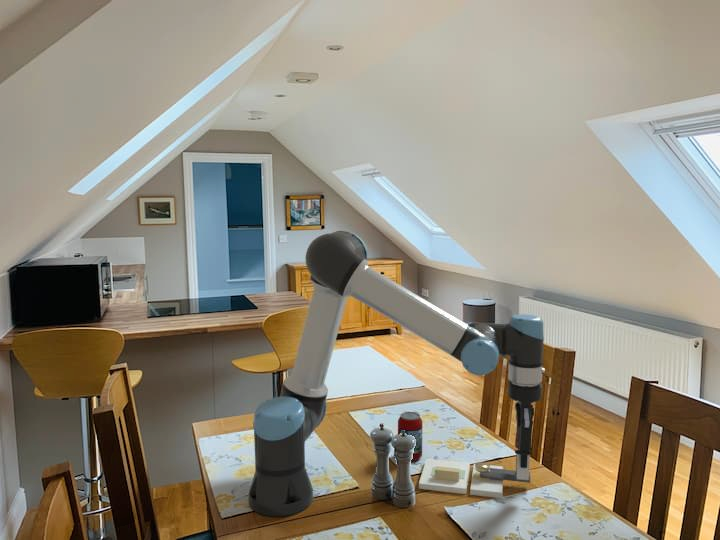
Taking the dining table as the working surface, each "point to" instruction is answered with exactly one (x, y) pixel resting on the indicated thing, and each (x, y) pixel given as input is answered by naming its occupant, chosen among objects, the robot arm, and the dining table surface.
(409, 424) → the beverage can
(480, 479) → the block
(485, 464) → the latch bar
